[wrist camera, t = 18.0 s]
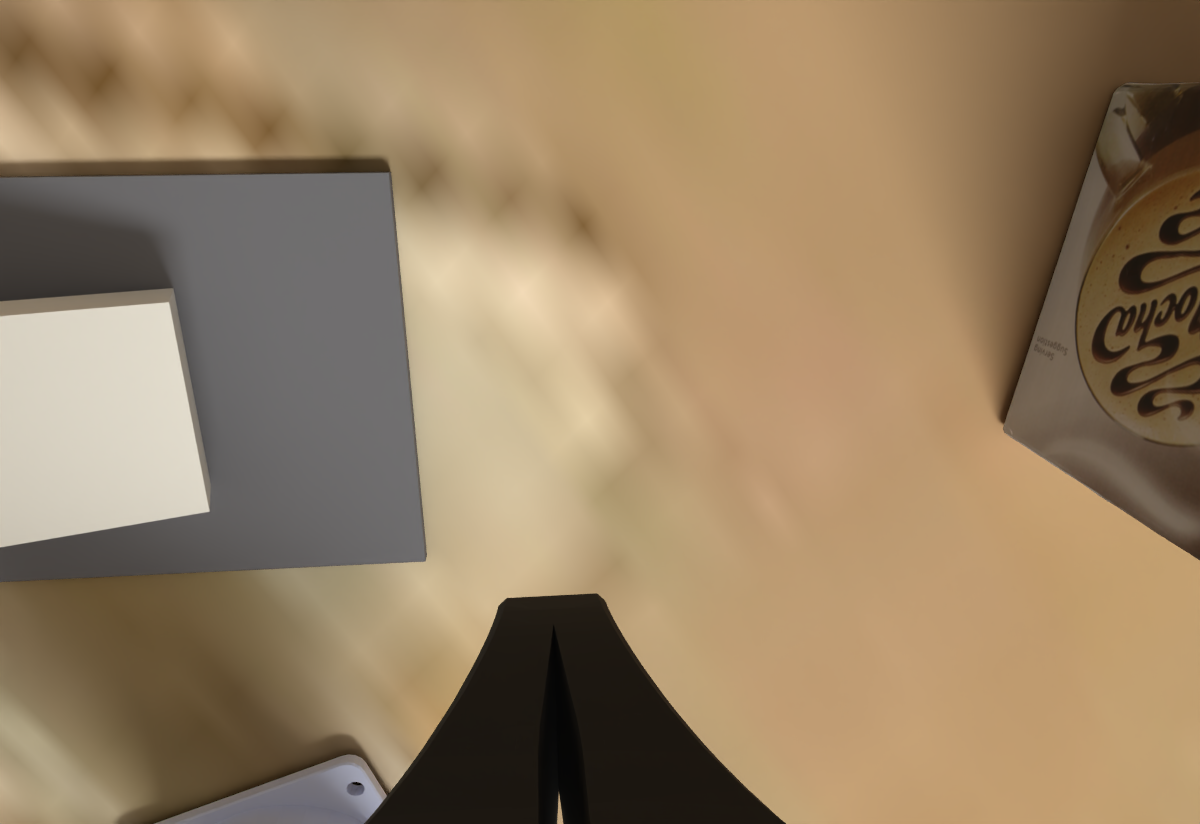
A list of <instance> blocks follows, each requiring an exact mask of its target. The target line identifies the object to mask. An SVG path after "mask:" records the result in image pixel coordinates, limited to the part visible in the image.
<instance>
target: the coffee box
mask: <svg viewBox="0 0 1200 824" xmlns="http://www.w3.org/2000/svg"><path fill="white" fill-rule="evenodd" d="M1003 430H1004V433H1006V434H1007V435H1009V436H1010V437H1011V438H1013V439H1014V440H1016V441H1017V442H1019V443H1020V444H1022V445H1024V446H1025V447H1027V448H1028V449H1030V450H1031V451H1033V452H1034V453H1036V454H1037V455H1039V456H1040V457H1042V458H1043V459H1045V460H1046V461H1048V462H1049V463H1051V464H1052V465H1054V466H1056V467H1057V468H1059V469H1060V470H1062V471H1063V472H1065V473H1066V474H1068V475H1069V476H1071V477H1073V478H1074V479H1076V480H1077V481H1079V482H1081V483H1082V484H1083V485H1085V486H1086V487H1088V488H1089V489H1091V490H1092V491H1093V492H1095V493H1096V494H1097V495H1099V496H1100V497H1102V498H1104V499H1105V500H1107V501H1108V502H1110V503H1112V504H1113V505H1115V506H1117V507H1118V508H1120V509H1121V510H1123V511H1124V512H1126V513H1127V514H1129V515H1131V516H1132V517H1134V518H1135V519H1137V520H1138V521H1140V522H1141V523H1143V524H1144V525H1146V526H1147V527H1149V528H1150V529H1152V530H1153V531H1155V532H1156V533H1158V534H1159V535H1161V536H1162V537H1164V538H1166V539H1167V540H1169V541H1170V542H1172V543H1173V544H1175V545H1176V546H1178V547H1180V548H1181V549H1183V550H1185V551H1186V552H1188V553H1190V554H1191V555H1192V556H1194V557H1195V558H1197V559H1198V560H1200V82H1195V83H1168V84H1144V83H1131V82H1130V83H1125V84H1123V85H1122V86H1120V87H1119V88H1117V89H1116V91H1115V92H1114V93H1113V96H1112V99H1111V102H1110V105H1109V108H1108V111H1107V114H1106V117H1105V120H1104V123H1103V126H1102V129H1101V132H1100V135H1099V138H1098V141H1097V144H1096V147H1095V150H1094V153H1093V156H1092V159H1091V162H1090V165H1089V168H1088V171H1087V174H1086V177H1085V180H1084V183H1083V186H1082V189H1081V192H1080V195H1079V198H1078V201H1077V204H1076V207H1075V210H1074V213H1073V216H1072V220H1071V223H1070V226H1069V229H1068V232H1067V235H1066V238H1065V241H1064V244H1063V247H1062V250H1061V253H1060V256H1059V259H1058V262H1057V265H1056V268H1055V271H1054V274H1053V277H1052V280H1051V283H1050V286H1049V289H1048V293H1047V296H1046V299H1045V302H1044V305H1043V308H1042V311H1041V314H1040V317H1039V320H1038V323H1037V326H1036V329H1035V332H1034V336H1033V339H1032V342H1031V345H1030V348H1029V351H1028V354H1027V357H1026V360H1025V363H1024V366H1023V369H1022V372H1021V375H1020V378H1019V381H1018V384H1017V387H1016V390H1015V393H1014V396H1013V399H1012V402H1011V405H1010V408H1009V411H1008V414H1007V417H1006V421H1005V424H1004V427H1003Z"/></svg>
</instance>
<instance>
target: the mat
mask: <svg viewBox="0 0 1200 824" xmlns="http://www.w3.org/2000/svg"><path fill="white" fill-rule="evenodd" d="M167 288H173V289H174V294H175V299H176V305H177V310H178V315H179V320H180V326H181V331H182V336H183V341H184V347H185V352H186V357H187V362H188V368H189V373H190V378H191V383H192V389H193V394H194V399H195V404H196V410H197V415H198V420H199V425H200V431H201V436H202V441H203V446H204V452H205V457H206V462H207V467H208V473H209V478H210V483H211V491H210V512H204V513H199V514H193V515H187V516H181V517H175V518H169V519H164V520H158V521H152V522H146V523H140V524H134V525H128V526H123V527H117V528H111V529H105V530H99V531H93V532H88V533H82V534H76V535H70V536H64V537H58V538H52V539H47V540H41V541H35V542H29V543H23V544H17V545H12V546H6V547H0V582H10V581H30V580H51V579H72V578H93V577H113V576H134V575H155V574H175V573H196V572H217V571H238V570H258V569H279V568H300V567H320V566H341V565H362V564H383V563H403V562H424V561H426V557H427V553H426V542H425V531H424V521H423V510H422V499H421V489H420V478H419V467H418V457H417V446H416V435H415V425H414V414H413V403H412V393H411V382H410V371H409V361H408V350H407V339H406V329H405V318H404V307H403V297H402V286H401V275H400V265H399V254H398V243H397V233H396V222H395V211H394V201H393V190H392V179H391V172H341V173H264V174H187V175H110V176H33V177H0V301H12V300H25V299H37V298H50V297H63V296H76V295H89V294H102V293H115V292H128V291H141V290H154V289H167Z"/></svg>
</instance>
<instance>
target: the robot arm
mask: <svg viewBox="0 0 1200 824" xmlns="http://www.w3.org/2000/svg"><path fill="white" fill-rule="evenodd" d="M351 782H359V783H361V784H362V785H354V784H352V783H351ZM559 794H560V802H561V809H562V816H563V823H564V824H786V823H785V822H783V821H782V820H781V819H780V818H779V817H777V816H776V815H775V814H774V813H773V812H772V811H771V810H770V809H769V808H768V807H766V806H765V805H764V804H763V803H762V802H761V801H760V800H759V799H758V798H757V797H756V796H755V795H753V794H752V793H751V792H750V791H749V790H748V789H747V788H746V787H745V786H744V785H743V784H742V783H741V782H740V781H739V780H738V779H737V778H736V777H735V776H734V775H733V774H732V773H731V772H730V771H729V770H728V769H727V768H726V767H725V766H724V765H723V764H722V763H721V762H720V761H719V760H718V759H717V758H716V757H715V756H714V754H713V753H712V752H711V751H710V750H709V749H708V748H707V747H706V746H705V745H704V743H703V742H702V741H701V740H700V739H699V738H698V737H697V736H696V734H695V733H694V732H693V731H692V730H691V728H690V727H689V726H688V725H687V724H686V722H685V721H684V720H683V719H682V718H681V717H680V715H679V714H678V713H677V712H676V710H675V709H674V708H673V707H672V705H671V704H670V703H669V701H668V700H667V699H666V698H665V696H664V695H663V694H662V692H661V691H660V690H659V688H658V687H657V685H656V684H655V683H654V681H653V680H652V679H651V677H650V676H649V674H648V673H647V672H646V670H645V669H644V667H643V666H642V665H641V663H640V662H639V660H638V659H637V657H636V656H635V654H634V653H633V651H632V649H631V648H630V646H629V645H628V643H627V641H626V640H625V638H624V637H623V635H622V633H621V631H620V630H619V628H618V626H617V624H616V623H615V621H614V619H613V617H612V615H611V613H610V611H609V609H608V607H607V604H606V602H605V600H604V599H603V598H601V597H600V596H599V595H598V594H578V595H559V596H540V597H521V598H507V599H505V600H504V601H503V602H502V603H501V604H500V605H499V607H498V610H497V614H496V617H495V619H494V622H493V625H492V627H491V630H490V632H489V634H488V637H487V639H486V641H485V643H484V645H483V647H482V649H481V651H480V653H479V655H478V657H477V660H476V661H475V663H474V665H473V667H472V669H471V671H470V672H469V674H468V676H467V678H466V680H465V681H464V683H463V685H462V687H461V689H460V690H459V692H458V694H457V696H456V698H455V699H454V701H453V703H452V704H451V706H450V708H449V709H448V711H447V712H446V714H445V715H444V717H443V718H442V720H441V721H440V723H439V724H438V726H437V727H436V729H435V731H434V732H433V734H432V735H431V737H430V738H429V740H428V741H427V743H426V744H425V746H424V747H423V749H422V750H421V752H420V753H419V755H418V756H417V757H416V759H415V760H414V761H413V763H412V764H411V766H410V767H409V768H408V770H407V771H406V772H405V774H404V775H403V776H402V778H401V779H400V780H399V782H398V783H397V784H396V785H395V787H394V788H393V789H392V790H391V792H390V793H389V794H388V796H387V795H386V794H385V792H384V790H383V789H382V787H381V786H380V784H379V782H378V781H377V779H376V778H375V776H374V775H373V773H372V771H371V770H370V768H369V767H368V765H367V763H366V762H365V761H364V760H363V759H362V758H361V757H358V756H356V755H350V754H348V755H343V756H340V757H337V758H334V759H332V760H329V761H326V762H323V763H321V764H318V765H315V766H312V767H310V768H307V769H304V770H301V771H298V772H296V773H293V774H290V775H287V776H285V777H282V778H279V779H276V780H274V781H271V782H268V783H265V784H262V785H260V786H257V787H254V788H251V789H249V790H246V791H243V792H240V793H238V794H235V795H232V796H229V797H227V798H224V799H221V800H218V801H215V802H213V803H210V804H207V805H204V806H202V807H199V808H196V809H193V810H191V811H188V812H185V813H182V814H179V815H177V816H174V817H171V818H168V819H166V820H163V821H160V822H157V823H155V824H557V814H558V795H559Z"/></svg>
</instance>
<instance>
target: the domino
mask: <svg viewBox="0 0 1200 824" xmlns="http://www.w3.org/2000/svg"><path fill="white" fill-rule="evenodd" d="M210 491H211V483H210V478H209V473H208V467H207V462H206V457H205V452H204V446H203V441H202V436H201V431H200V425H199V420H198V415H197V410H196V404H195V399H194V394H193V389H192V383H191V378H190V373H189V368H188V362H187V357H186V352H185V347H184V341H183V336H182V331H181V326H180V320H179V315H178V310H177V305H176V299H175V294H174V289H173V288H167V289H154V290H141V291H128V292H115V293H102V294H89V295H76V296H63V297H50V298H37V299H25V300H12V301H0V547H6V546H12V545H17V544H23V543H29V542H35V541H41V540H47V539H52V538H58V537H64V536H70V535H76V534H82V533H88V532H93V531H99V530H105V529H111V528H117V527H123V526H128V525H134V524H140V523H146V522H152V521H158V520H164V519H169V518H175V517H181V516H187V515H193V514H199V513H204V512H210Z"/></svg>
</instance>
